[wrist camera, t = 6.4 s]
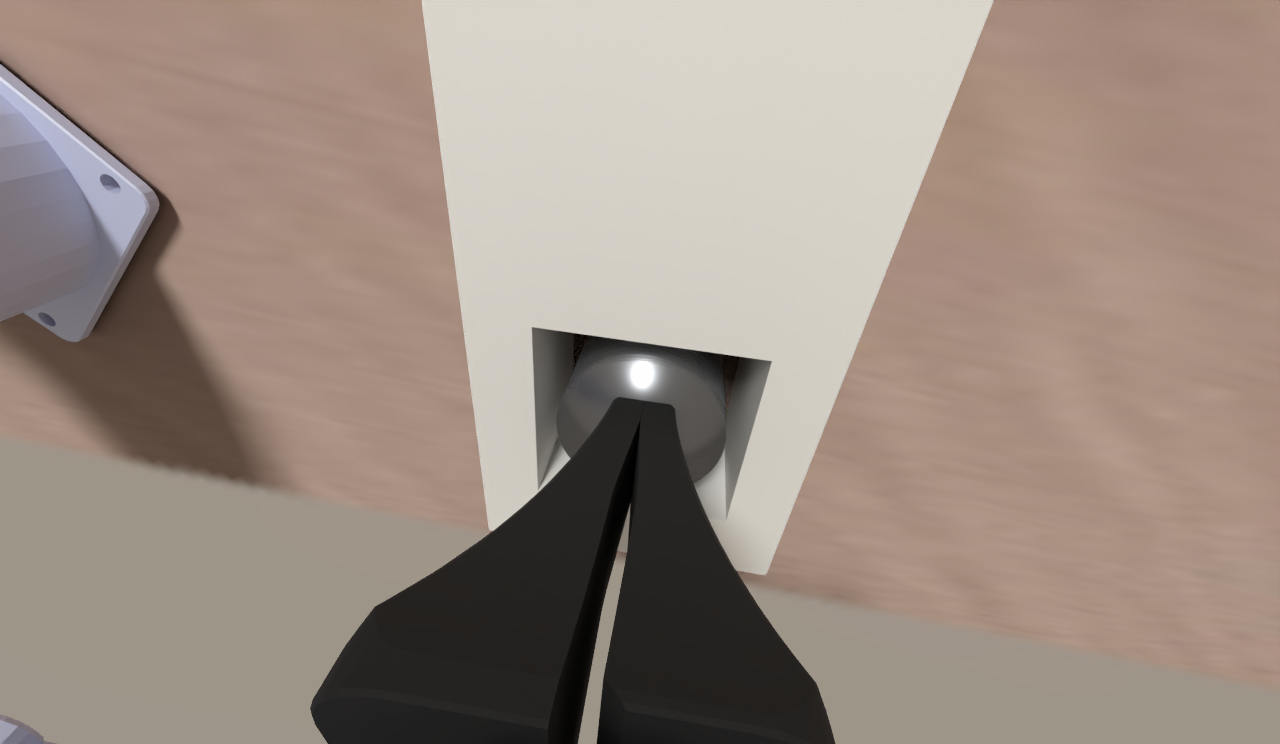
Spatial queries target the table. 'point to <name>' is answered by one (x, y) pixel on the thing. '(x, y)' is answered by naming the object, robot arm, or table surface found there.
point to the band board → (682, 209)
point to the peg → (648, 394)
